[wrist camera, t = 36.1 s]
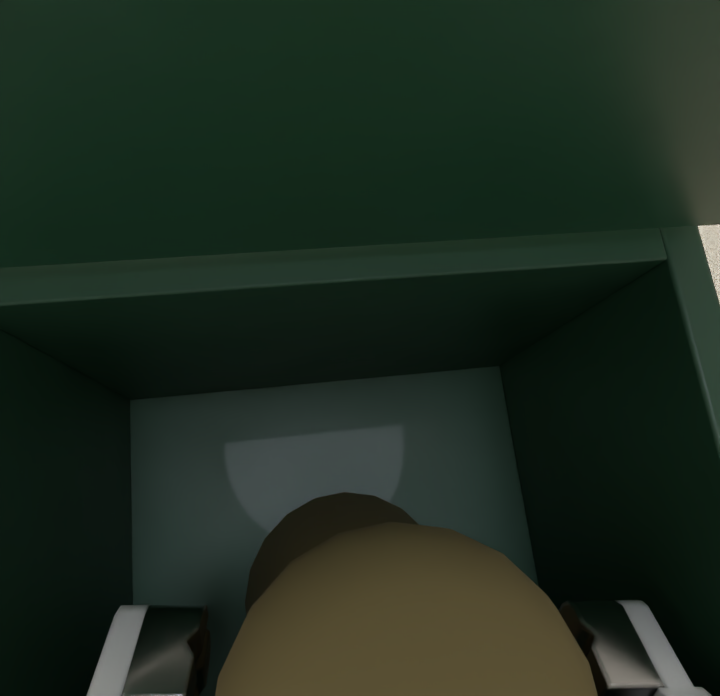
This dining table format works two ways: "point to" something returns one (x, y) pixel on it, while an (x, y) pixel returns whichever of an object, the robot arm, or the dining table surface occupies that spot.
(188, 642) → the robot arm
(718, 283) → the dining table surface
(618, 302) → the cool box
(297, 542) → the pepper shaker
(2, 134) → the cool box lid
